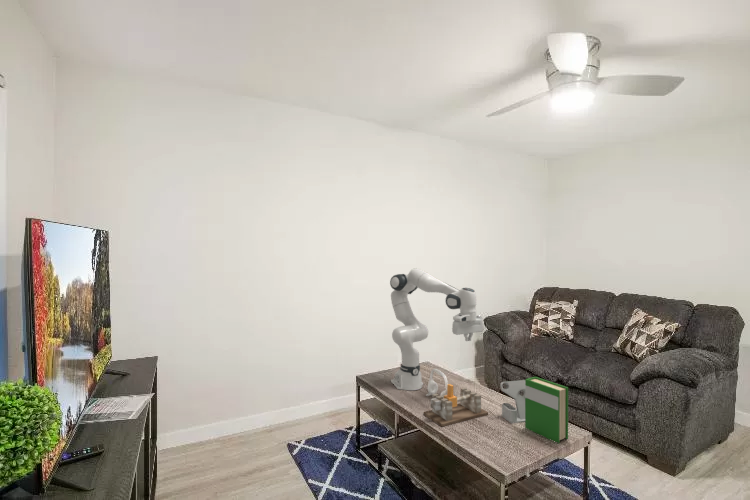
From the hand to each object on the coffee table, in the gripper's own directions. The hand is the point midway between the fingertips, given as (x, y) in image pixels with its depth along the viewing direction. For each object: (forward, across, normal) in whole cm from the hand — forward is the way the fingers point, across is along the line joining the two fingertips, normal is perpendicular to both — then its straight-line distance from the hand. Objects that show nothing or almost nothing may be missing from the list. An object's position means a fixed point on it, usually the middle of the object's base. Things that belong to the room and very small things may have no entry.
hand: (468, 340), depth 222 cm
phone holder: (+35, -10, +28) cm, 46 cm away
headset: (+35, +14, -9) cm, 39 cm away
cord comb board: (+35, +17, +10) cm, 40 cm away
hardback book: (+35, -8, +46) cm, 59 cm away
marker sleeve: (+29, +21, +10) cm, 37 cm away
